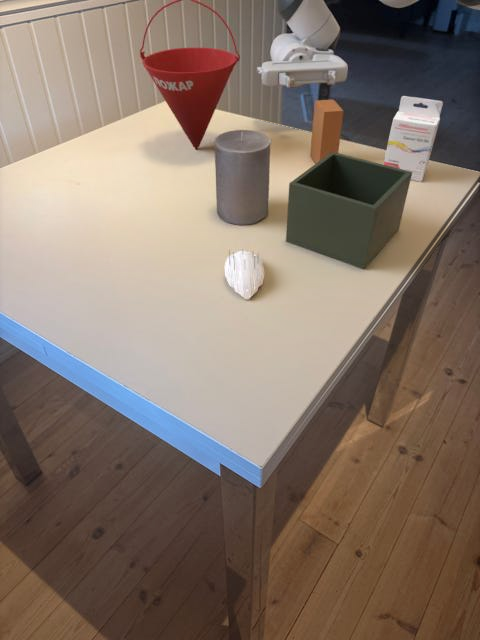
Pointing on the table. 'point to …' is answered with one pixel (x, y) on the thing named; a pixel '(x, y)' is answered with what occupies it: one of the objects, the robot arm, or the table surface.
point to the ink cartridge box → (413, 136)
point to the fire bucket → (191, 81)
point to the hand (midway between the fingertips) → (311, 82)
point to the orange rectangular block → (325, 129)
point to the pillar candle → (242, 176)
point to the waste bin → (346, 208)
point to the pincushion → (244, 273)
